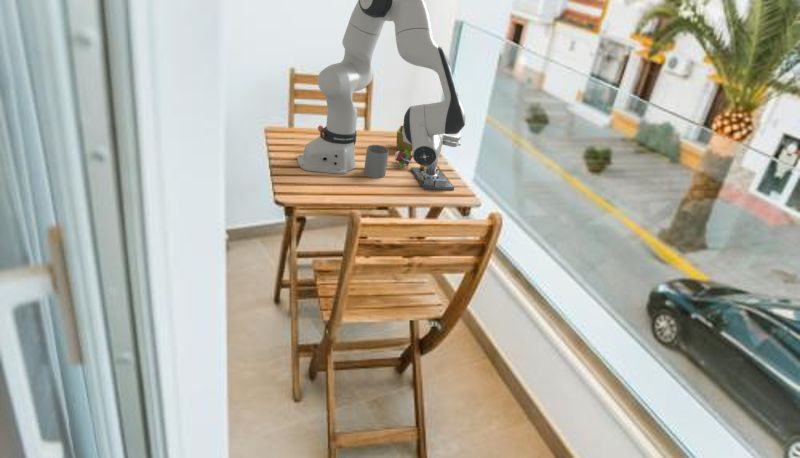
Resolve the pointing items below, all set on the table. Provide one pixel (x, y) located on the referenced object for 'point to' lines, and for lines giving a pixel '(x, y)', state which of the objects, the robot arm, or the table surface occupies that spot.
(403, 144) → the flower pot
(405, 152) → the geometric puzzle
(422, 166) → the sun gear
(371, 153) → the cup
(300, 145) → the table surface
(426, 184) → the carrier
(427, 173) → the gear
